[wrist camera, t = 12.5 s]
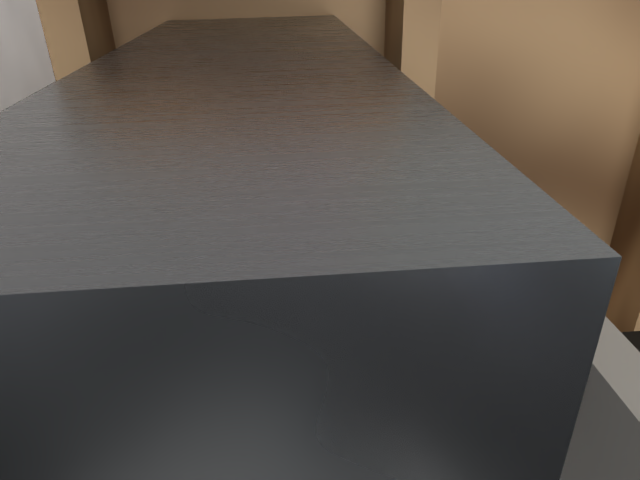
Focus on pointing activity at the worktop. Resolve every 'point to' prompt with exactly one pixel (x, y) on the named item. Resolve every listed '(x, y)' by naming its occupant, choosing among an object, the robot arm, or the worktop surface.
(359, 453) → the panel
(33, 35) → the worktop surface
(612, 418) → the robot arm
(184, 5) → the bay rack
